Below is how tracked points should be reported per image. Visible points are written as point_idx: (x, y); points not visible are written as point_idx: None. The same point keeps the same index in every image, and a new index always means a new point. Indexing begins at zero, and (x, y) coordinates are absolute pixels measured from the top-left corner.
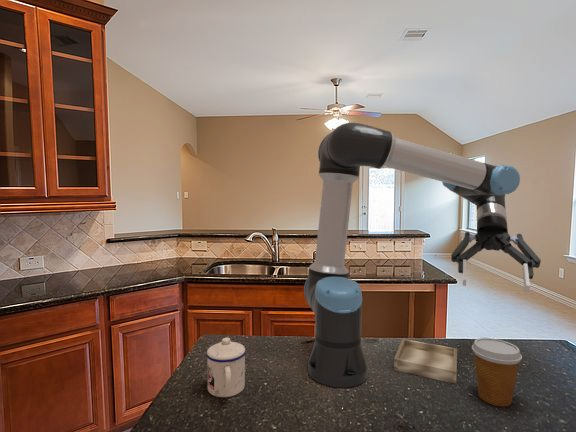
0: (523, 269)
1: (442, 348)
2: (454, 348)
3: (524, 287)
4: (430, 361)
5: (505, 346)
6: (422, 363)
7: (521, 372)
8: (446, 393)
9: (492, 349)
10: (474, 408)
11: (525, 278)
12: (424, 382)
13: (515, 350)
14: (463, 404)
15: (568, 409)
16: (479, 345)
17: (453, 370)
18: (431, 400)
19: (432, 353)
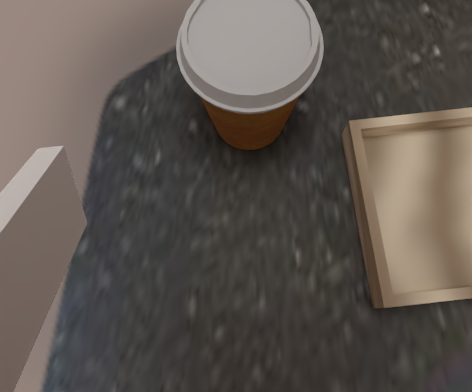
0: (2, 308)
1: (430, 291)
2: (392, 302)
3: (77, 234)
4: (437, 207)
5: (221, 59)
6: (446, 118)
7: (181, 322)
8: (352, 77)
9: (259, 10)
10: None
11: (41, 174)
12: (413, 99)
13: (192, 43)
14: None
15: (96, 160)
16: (299, 21)
17: (358, 124)
18: (374, 30)
19: (452, 276)
